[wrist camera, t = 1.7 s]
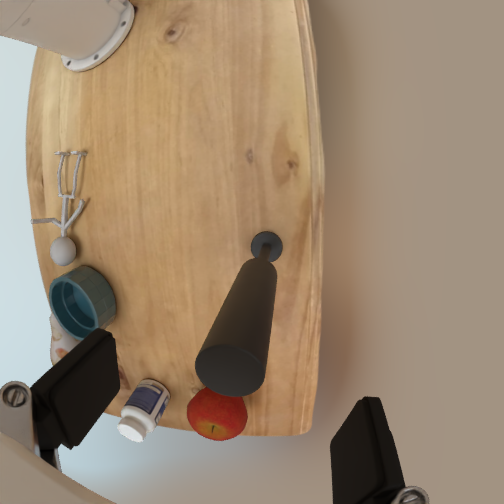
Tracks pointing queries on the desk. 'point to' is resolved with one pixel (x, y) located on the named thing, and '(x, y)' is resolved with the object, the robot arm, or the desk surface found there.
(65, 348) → the mug
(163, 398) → the pill bottle
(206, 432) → the apple
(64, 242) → the figurine
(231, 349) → the cylinder on disc stand
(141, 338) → the desk surface
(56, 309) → the bowl
